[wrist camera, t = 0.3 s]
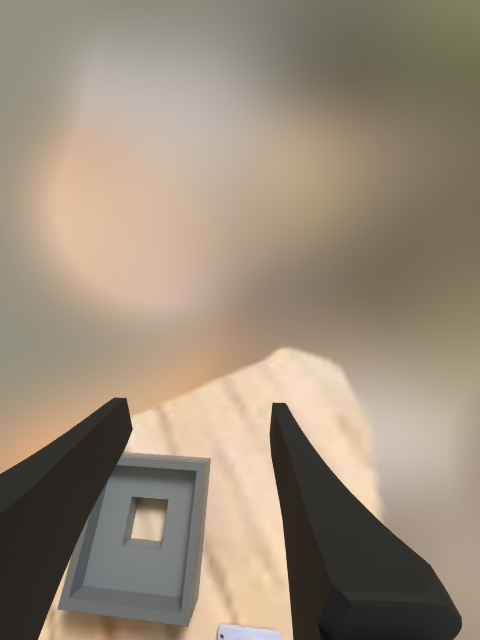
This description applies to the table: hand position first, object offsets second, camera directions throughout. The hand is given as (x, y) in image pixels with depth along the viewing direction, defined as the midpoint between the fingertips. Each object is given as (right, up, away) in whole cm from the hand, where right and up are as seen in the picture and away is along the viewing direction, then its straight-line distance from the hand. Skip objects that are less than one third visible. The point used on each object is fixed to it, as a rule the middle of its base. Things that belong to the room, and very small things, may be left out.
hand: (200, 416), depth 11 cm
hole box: (-11, -25, +23) cm, 36 cm away
